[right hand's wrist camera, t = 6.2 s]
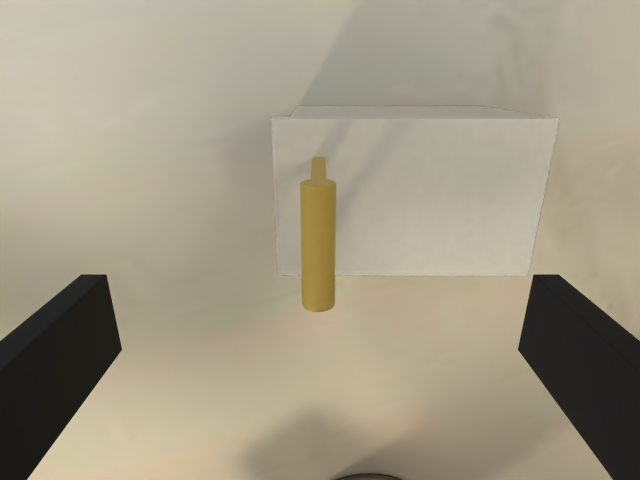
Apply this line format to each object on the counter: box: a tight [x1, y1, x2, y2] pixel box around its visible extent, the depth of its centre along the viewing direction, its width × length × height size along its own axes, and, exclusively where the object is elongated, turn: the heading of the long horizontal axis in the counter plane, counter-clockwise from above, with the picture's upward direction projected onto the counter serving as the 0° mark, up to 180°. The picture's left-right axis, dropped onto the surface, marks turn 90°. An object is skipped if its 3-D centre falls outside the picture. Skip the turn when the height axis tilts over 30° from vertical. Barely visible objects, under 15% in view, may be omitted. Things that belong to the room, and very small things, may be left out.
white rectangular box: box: [271, 117, 560, 312], centre depth 21 cm, size 16×10×9 cm, turn 90°
